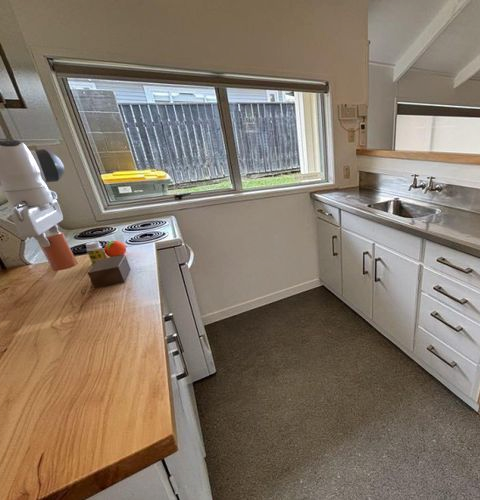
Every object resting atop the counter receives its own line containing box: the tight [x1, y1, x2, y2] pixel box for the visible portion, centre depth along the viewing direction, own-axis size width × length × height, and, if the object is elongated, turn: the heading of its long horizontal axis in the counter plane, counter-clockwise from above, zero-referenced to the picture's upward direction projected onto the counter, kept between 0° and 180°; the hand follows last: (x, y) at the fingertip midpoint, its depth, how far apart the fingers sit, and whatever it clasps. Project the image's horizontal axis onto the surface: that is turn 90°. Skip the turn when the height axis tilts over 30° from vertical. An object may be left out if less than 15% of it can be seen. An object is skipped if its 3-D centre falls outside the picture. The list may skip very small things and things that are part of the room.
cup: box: [37, 230, 78, 272], centre depth 89 cm, size 11×6×6 cm
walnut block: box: [87, 254, 131, 290], centre depth 97 cm, size 8×12×6 cm, turn 28°
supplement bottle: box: [85, 240, 107, 265], centre depth 111 cm, size 5×5×8 cm
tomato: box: [103, 240, 127, 258], centre depth 115 cm, size 8×7×7 cm
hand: (51, 242), depth 88 cm, fingers closed on cup, 6 cm apart
